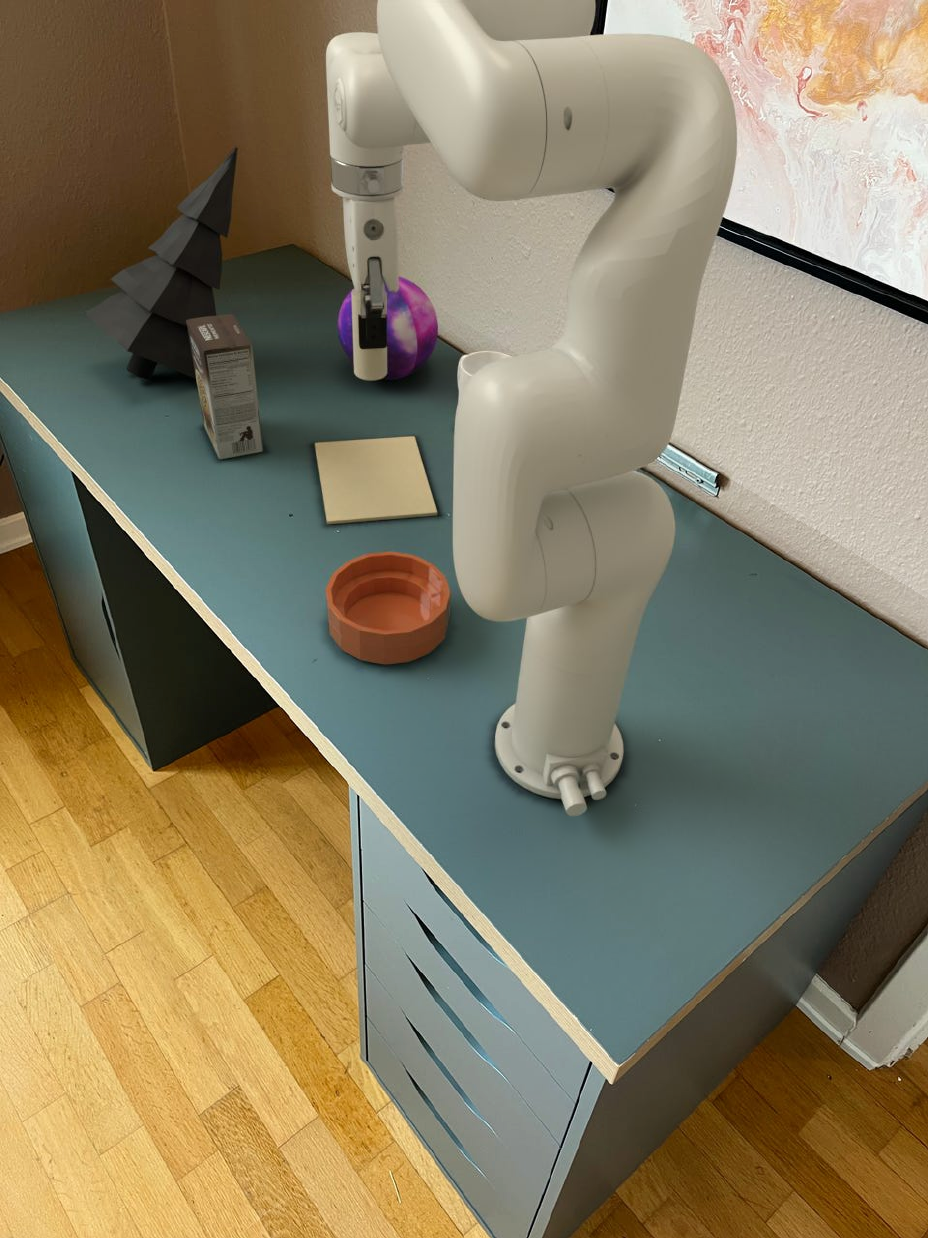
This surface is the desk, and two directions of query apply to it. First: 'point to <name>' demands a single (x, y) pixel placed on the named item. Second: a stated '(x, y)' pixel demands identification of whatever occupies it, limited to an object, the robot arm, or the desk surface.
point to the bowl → (388, 607)
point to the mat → (373, 480)
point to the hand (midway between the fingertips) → (370, 336)
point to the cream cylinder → (366, 360)
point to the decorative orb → (399, 329)
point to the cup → (475, 365)
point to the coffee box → (226, 384)
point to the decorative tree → (172, 281)
